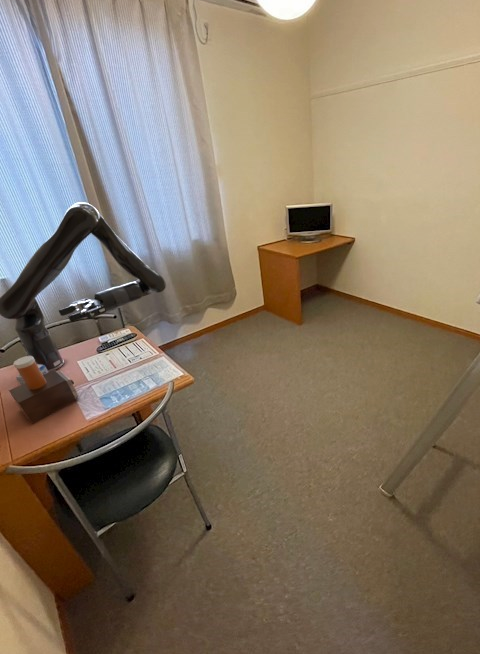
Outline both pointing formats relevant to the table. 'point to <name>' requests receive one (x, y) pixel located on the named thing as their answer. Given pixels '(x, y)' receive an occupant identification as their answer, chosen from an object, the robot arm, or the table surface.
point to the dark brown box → (43, 397)
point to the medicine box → (42, 369)
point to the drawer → (69, 383)
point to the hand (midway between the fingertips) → (64, 316)
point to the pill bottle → (30, 372)
